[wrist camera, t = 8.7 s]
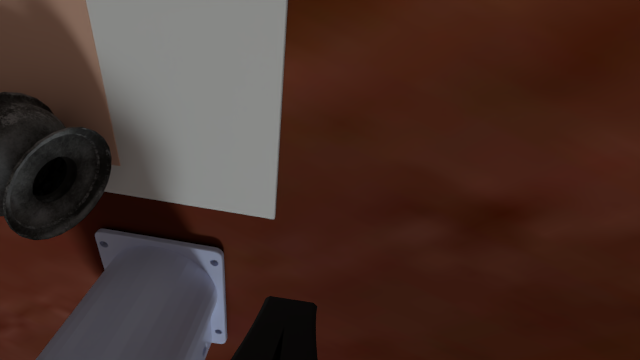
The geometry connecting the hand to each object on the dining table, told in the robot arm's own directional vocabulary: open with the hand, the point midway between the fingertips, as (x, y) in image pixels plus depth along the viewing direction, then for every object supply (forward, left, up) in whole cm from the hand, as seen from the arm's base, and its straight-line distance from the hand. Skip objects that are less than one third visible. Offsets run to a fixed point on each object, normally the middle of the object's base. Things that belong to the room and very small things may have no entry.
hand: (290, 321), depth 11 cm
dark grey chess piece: (-2, +11, -6) cm, 12 cm away
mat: (+2, +13, -10) cm, 17 cm away
